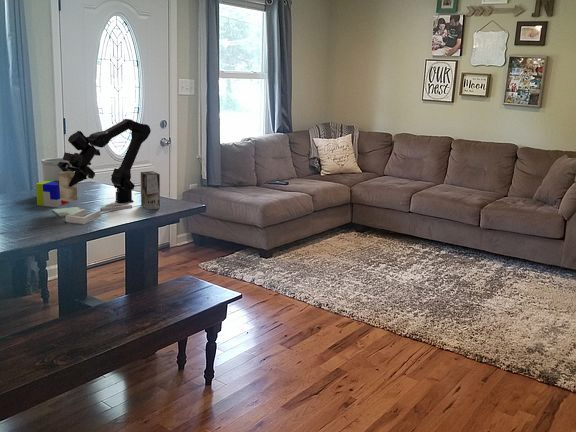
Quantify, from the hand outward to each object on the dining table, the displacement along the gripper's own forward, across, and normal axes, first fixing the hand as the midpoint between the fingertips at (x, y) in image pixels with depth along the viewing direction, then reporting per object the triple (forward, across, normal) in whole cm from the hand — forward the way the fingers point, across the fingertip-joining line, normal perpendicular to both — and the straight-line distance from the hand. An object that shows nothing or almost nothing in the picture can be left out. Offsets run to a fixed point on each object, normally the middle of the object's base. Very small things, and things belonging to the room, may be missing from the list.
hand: (65, 185), depth 255 cm
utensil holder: (-5, -32, +23) cm, 39 cm away
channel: (+10, +14, +7) cm, 19 cm away
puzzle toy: (+4, -18, +14) cm, 23 cm away
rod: (-4, +10, +22) cm, 25 cm away
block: (+4, 0, +6) cm, 7 cm away
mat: (+8, 0, +10) cm, 12 cm away
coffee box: (-14, +18, +31) cm, 39 cm away
